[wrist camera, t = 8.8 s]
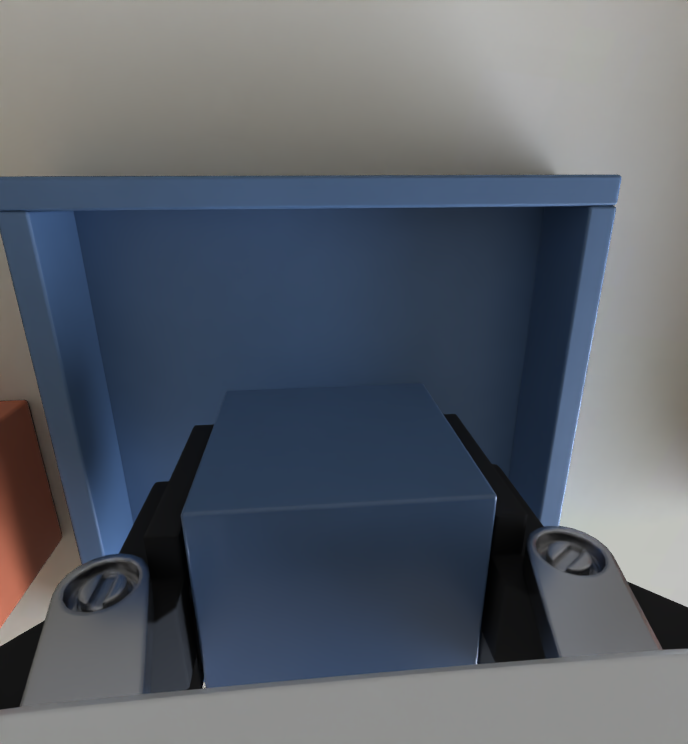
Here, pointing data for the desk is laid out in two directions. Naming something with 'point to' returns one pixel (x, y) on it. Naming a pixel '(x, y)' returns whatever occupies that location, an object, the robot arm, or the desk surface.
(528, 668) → the robot arm
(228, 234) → the blue tray
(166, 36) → the desk surface
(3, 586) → the terracotta block
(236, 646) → the blue block
